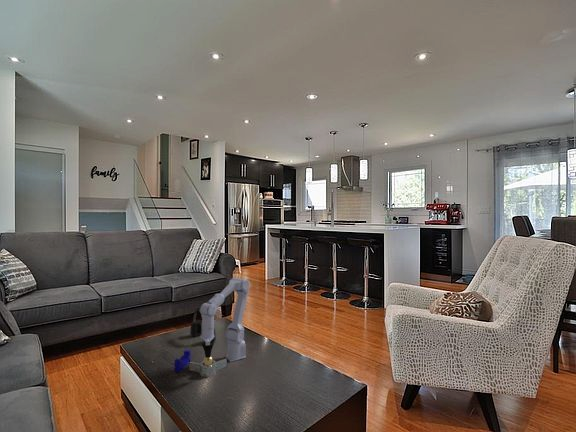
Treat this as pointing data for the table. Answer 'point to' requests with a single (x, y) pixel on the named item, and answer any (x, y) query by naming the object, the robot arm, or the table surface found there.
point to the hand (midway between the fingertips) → (208, 353)
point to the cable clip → (182, 361)
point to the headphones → (198, 327)
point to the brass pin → (207, 361)
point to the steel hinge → (208, 367)
